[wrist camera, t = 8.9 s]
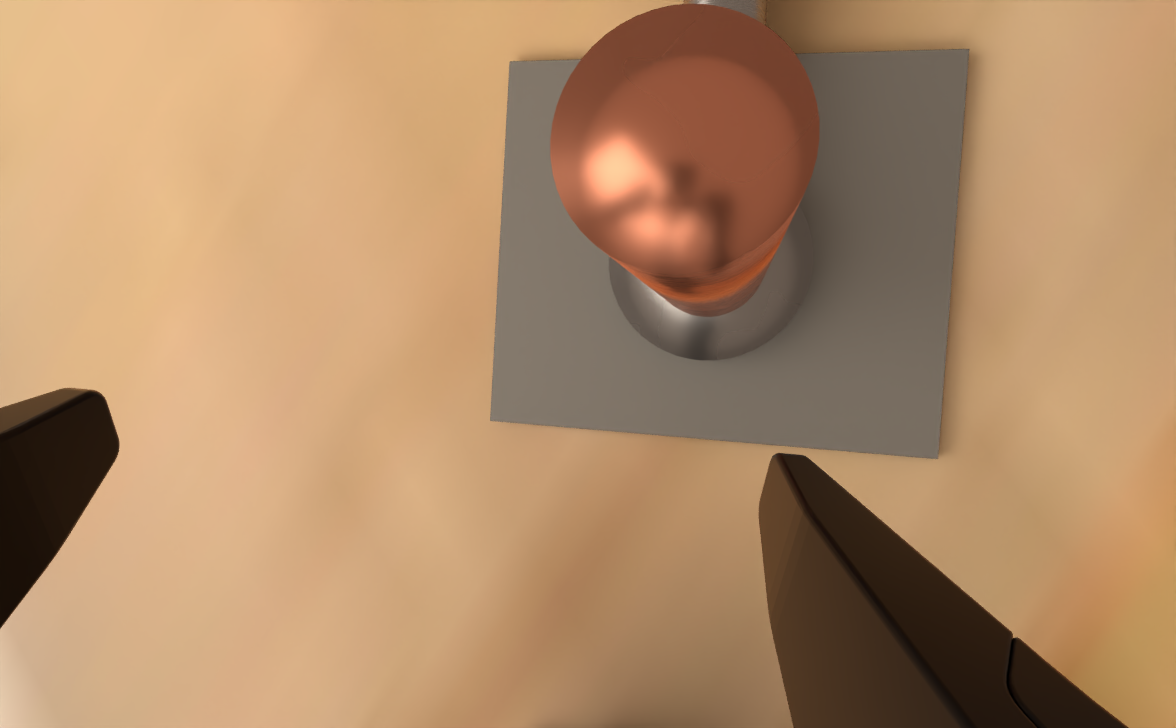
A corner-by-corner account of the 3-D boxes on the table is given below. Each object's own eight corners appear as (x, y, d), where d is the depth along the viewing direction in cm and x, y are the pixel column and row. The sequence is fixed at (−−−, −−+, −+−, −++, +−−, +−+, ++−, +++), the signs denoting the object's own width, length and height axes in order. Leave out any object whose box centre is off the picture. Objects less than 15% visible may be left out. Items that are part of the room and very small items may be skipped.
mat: (933, 457, 20) (937, 459, 20) (494, 419, 23) (490, 421, 23) (964, 54, 20) (969, 48, 20) (513, 66, 23) (509, 61, 23)
